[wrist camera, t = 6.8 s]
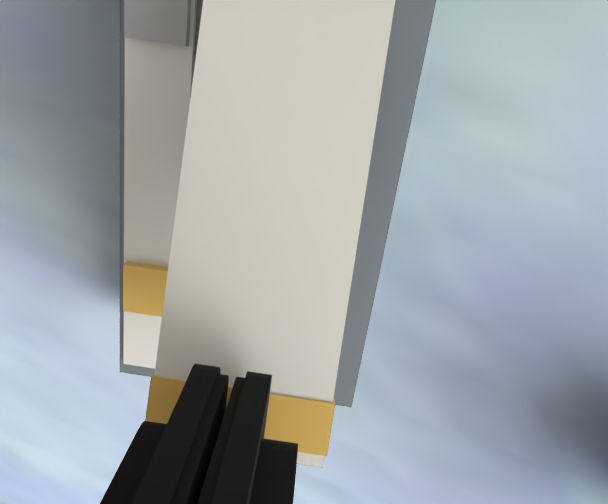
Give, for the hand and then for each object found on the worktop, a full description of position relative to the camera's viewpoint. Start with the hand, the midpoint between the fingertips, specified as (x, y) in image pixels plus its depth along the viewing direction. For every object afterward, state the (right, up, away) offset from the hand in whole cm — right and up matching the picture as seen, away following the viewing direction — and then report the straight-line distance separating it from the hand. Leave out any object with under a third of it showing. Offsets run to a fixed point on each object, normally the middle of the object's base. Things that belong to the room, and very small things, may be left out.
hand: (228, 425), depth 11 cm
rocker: (+1, +5, +1) cm, 5 cm away
